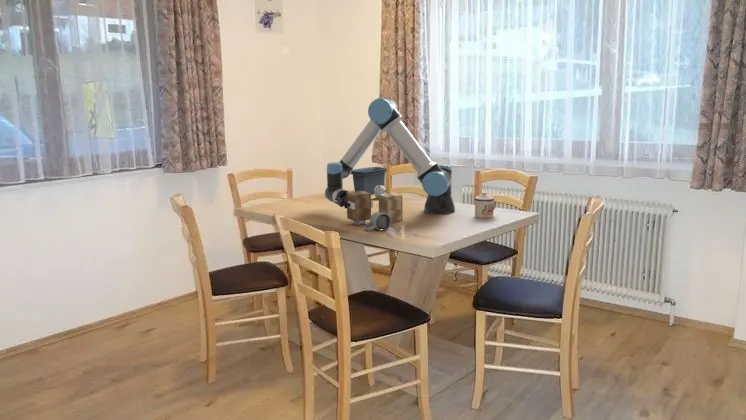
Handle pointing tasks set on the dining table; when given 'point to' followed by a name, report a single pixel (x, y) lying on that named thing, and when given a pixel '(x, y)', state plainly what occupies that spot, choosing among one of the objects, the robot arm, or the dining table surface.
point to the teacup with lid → (484, 206)
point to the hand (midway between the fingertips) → (363, 205)
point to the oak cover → (391, 206)
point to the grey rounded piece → (379, 190)
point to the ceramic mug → (379, 221)
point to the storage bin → (368, 178)
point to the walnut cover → (359, 206)
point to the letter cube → (359, 222)
